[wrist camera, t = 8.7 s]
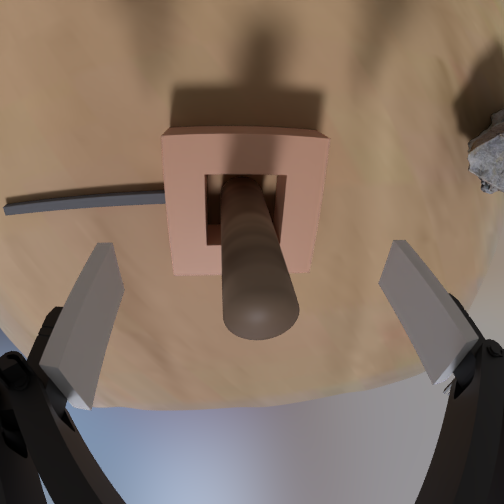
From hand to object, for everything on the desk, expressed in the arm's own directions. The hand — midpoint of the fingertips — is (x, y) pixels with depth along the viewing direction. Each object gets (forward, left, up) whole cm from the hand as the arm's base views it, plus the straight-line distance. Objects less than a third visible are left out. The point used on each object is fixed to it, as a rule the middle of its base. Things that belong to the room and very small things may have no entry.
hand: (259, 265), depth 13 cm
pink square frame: (0, 0, -9) cm, 9 cm away
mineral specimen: (-7, +22, -10) cm, 25 cm away
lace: (0, -13, -9) cm, 16 cm away
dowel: (+1, 0, -9) cm, 9 cm away
